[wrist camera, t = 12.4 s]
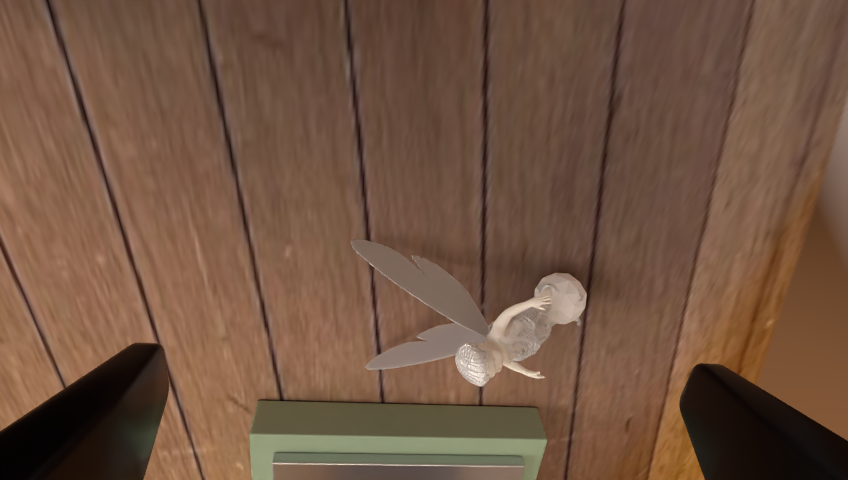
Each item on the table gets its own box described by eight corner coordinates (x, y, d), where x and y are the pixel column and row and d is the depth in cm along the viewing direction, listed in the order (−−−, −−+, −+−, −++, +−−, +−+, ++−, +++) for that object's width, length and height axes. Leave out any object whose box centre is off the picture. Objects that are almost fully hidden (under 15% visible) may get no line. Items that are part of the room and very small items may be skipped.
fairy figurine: (592, 352, 24) (491, 455, 20) (467, 293, 28) (362, 367, 24) (606, 226, 21) (491, 315, 16) (464, 182, 25) (343, 244, 21)
